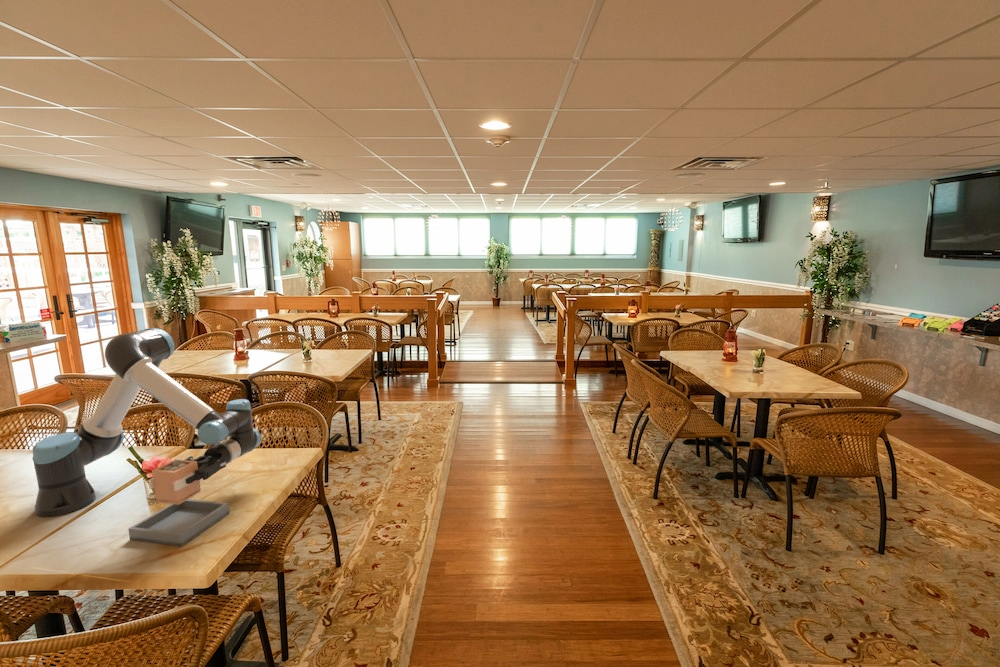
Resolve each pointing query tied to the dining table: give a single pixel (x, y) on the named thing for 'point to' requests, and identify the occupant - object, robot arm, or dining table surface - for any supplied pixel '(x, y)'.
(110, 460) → the dining table surface
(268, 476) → the dining table surface
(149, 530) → the slate dish
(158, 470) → the peach box
